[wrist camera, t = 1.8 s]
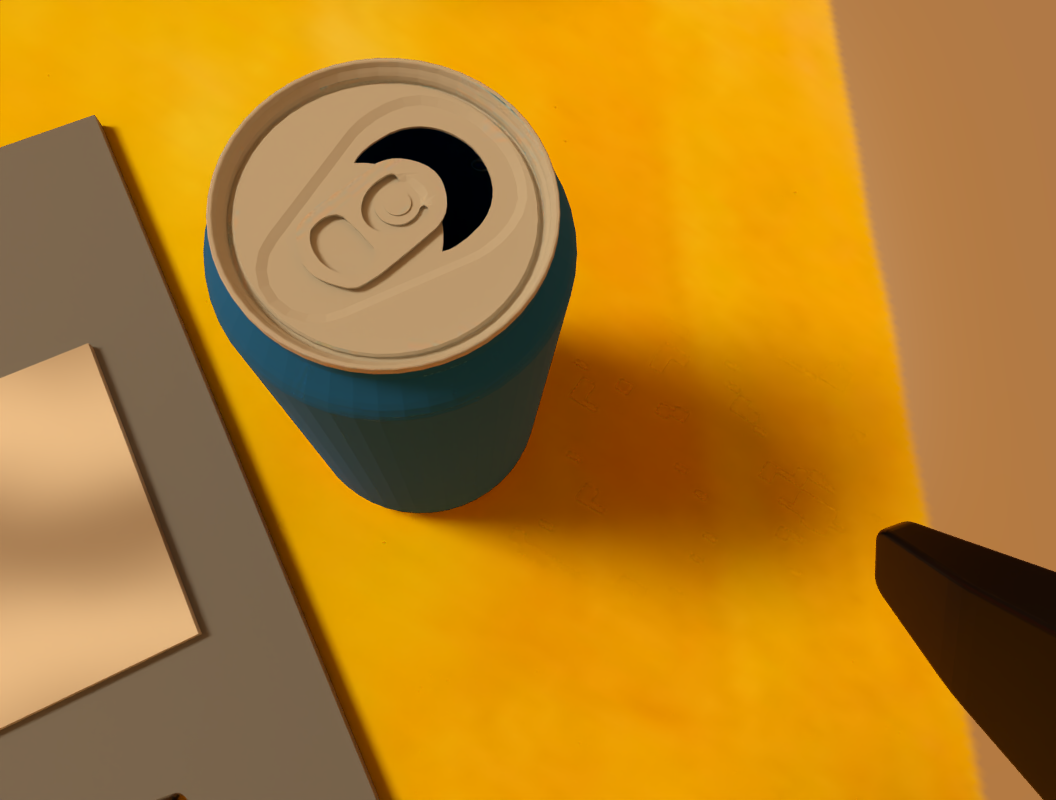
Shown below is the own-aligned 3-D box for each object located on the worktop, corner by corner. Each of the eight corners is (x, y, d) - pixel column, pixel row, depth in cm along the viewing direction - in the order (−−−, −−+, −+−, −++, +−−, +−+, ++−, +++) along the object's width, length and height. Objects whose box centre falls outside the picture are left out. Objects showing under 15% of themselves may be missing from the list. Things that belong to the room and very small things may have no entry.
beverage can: (577, 415, 25) (669, 219, 13) (416, 564, 23) (363, 487, 12) (433, 270, 26) (405, -27, 14) (270, 403, 24) (91, 187, 13)
